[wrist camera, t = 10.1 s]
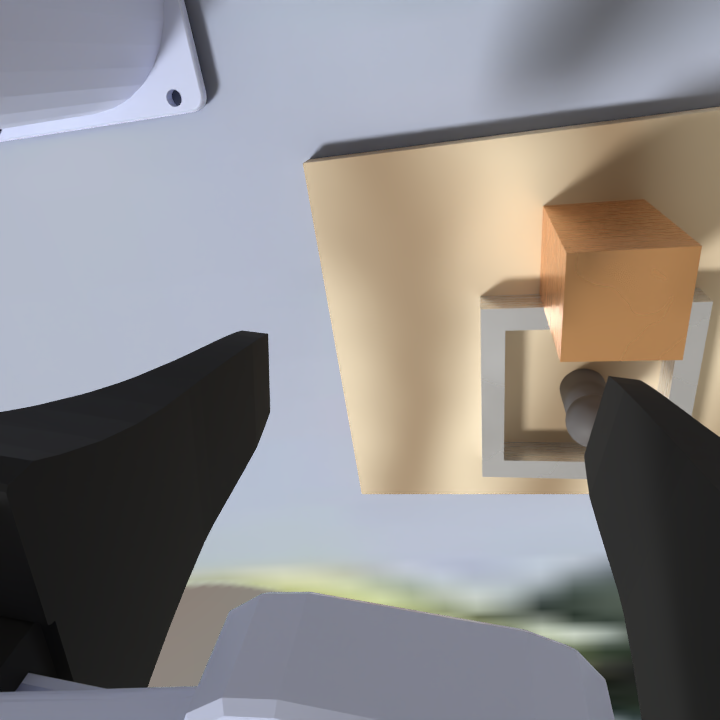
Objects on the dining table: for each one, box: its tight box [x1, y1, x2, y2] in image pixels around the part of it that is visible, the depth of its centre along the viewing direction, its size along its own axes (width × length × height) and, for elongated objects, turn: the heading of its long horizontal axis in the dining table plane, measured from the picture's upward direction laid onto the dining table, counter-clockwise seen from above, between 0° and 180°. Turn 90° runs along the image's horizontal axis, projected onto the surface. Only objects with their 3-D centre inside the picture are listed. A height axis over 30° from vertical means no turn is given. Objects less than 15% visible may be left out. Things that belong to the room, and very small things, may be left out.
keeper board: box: [303, 107, 720, 494], centre depth 19 cm, size 18×14×4 cm
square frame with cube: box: [480, 199, 713, 479], centre depth 18 cm, size 10×7×5 cm
